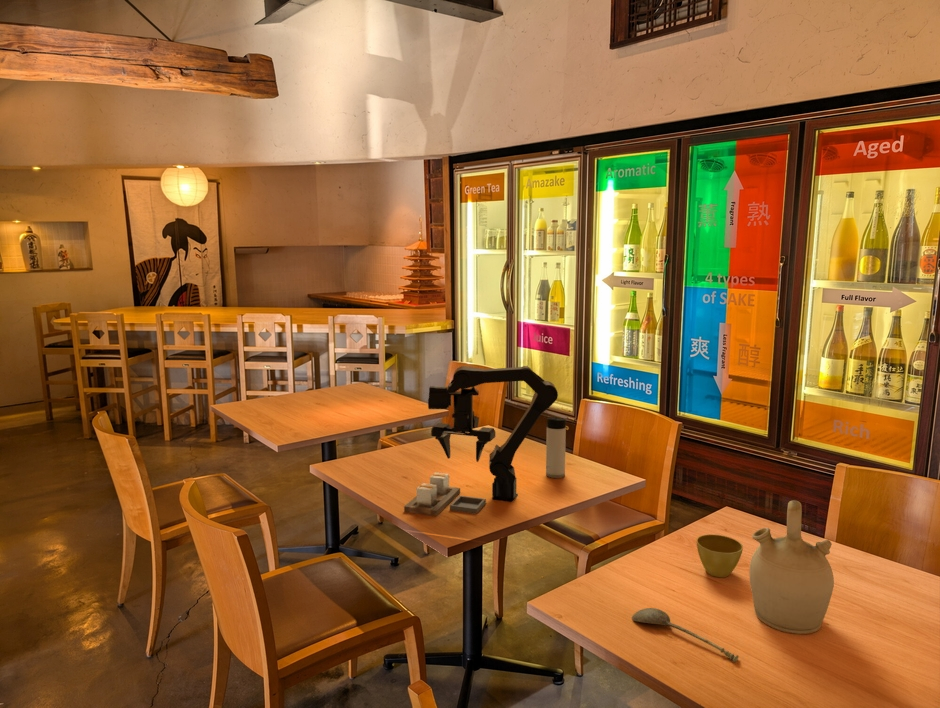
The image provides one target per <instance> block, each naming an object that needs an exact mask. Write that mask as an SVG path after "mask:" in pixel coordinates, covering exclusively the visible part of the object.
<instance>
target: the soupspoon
mask: <svg viewBox="0 0 940 708" xmlns="http://www.w3.org/2000/svg"><path fill="white" fill-rule="evenodd" d="M631 620H632V621H634V622H639V623H644V624H646V623H647V624H653V625H662V626H663V625H664V626H669V627H671V628H674V629H676V630H678V631H681V632H683V633H686V634H687V635H690V636H691V637H694V638H695V639H698V640H699V641H702V642H704V643H705V644H708V645H710V646H711V647H713V648H715V649H717V650H719V651H720V653H721V654H724V656H726V657H727V658H728V659H729V660H731V661H732V663H733V664H735V663H736V662H737V661H738V659H739V657H740V656H739V655H738V654H736V655H735V654H734V653H731V652H729V651H728V650H726V649H725V647H720V646H719V645H717V644H716V643H713V642H712V641H710V640H708V639H707V638H704V637H702V636H700V635H698V634H696V633H694V632H692V631H690V630H688V629H686V628H684V627H682V626H679V625H677V624H675V623H673V622H671V617H670V616H669V615H668V613H667V612H665V611H663V610H661V609H659V608H656V607H646V608H642V609H640V610H637V611H636V612H634V614H633V615H632V617H631Z"/></svg>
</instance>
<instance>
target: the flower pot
mask: <svg viewBox="0 0 940 708" xmlns="http://www.w3.org/2000/svg"><path fill="white" fill-rule="evenodd" d="M696 547H697V549H696V550H697V553H698V556H699V559H700V561H701V564H702V566H703V568H704V569H705V572H706V573H707V574H709V575H710V576H713V577H715V578H726V577H728V576H730V575H731V574H732V572H734V570H735V568H736V567H737V565H738V564H739V561H740V560H741V557H742V553H743V549H744V546H743V544H742V543H741V542H740V541H739V540H737V539H735V538H732V537H731V536H730V537H729V536H726V535H722V534H721V535H720V534H702V535H700V536H698V537H697V538H696Z"/></svg>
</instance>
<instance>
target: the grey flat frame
mask: <svg viewBox="0 0 940 708" xmlns="http://www.w3.org/2000/svg"><path fill="white" fill-rule="evenodd" d="M460 494H461V488H460V487H455V486H449V493H448V494H447V495H446V496H441V495H437V505H435V506H434V507H433V508H426V507H419V506H417V495H416V496H415V497H413V498H412V499H411V500H410V501H409V502H407V503H406V504H405V505H404V506H403V511H404V513H410V514H417V515H424V516H431V517H438V516H439V515H440V514H441V513H442V512H443V511H444V510H445V509H446V508H447V507H448V506H450V505H451V504H452V503H453V502H454V501H455V500H456V499H457V498H458V497H459V496H460Z"/></svg>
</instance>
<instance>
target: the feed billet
mask: <svg viewBox="0 0 940 708" xmlns="http://www.w3.org/2000/svg"><path fill="white" fill-rule="evenodd" d="M416 496H417V506H419V507H426V508H433V507H434V506H435V505H437V485H433V484H430V483H426V482H425V483H424V482H423V483H421V484H420V485H418V487H416Z"/></svg>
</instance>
